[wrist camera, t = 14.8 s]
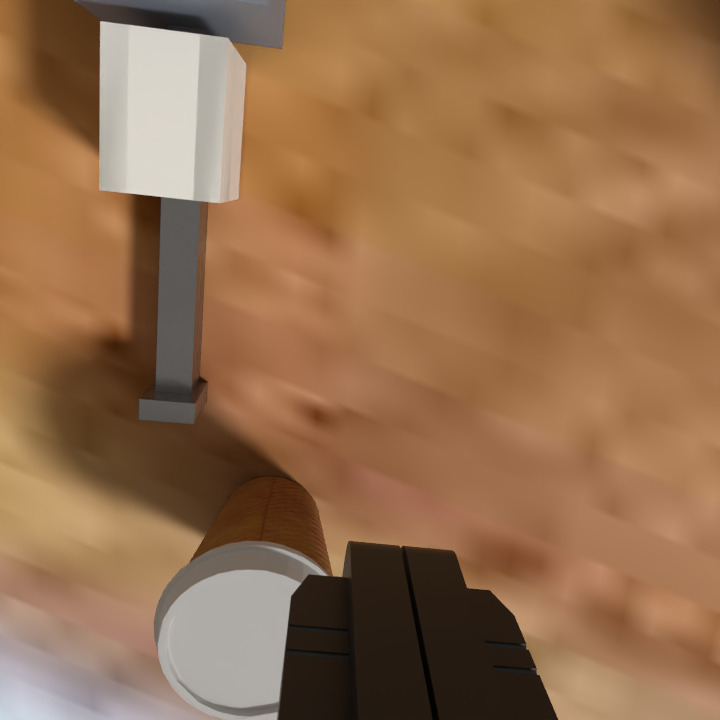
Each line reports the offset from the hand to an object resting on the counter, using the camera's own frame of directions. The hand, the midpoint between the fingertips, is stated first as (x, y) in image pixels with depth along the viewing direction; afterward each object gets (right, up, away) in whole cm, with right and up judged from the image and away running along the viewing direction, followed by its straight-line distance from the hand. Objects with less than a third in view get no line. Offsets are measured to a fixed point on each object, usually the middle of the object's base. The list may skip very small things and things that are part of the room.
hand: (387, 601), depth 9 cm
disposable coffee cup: (-6, -7, +33) cm, 34 cm away
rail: (-10, +11, +28) cm, 31 cm away
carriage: (-9, +16, +26) cm, 32 cm away
